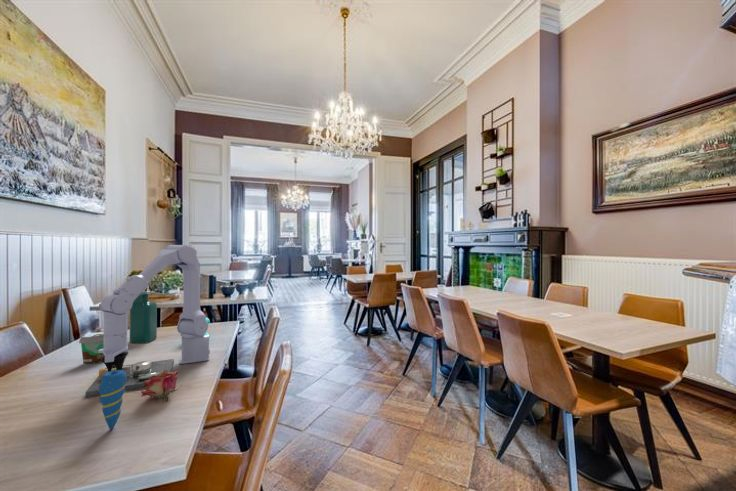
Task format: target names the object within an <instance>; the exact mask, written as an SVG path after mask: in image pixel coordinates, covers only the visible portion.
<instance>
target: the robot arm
mask: <svg viewBox="0 0 736 491" xmlns="http://www.w3.org/2000/svg"><path fill="white" fill-rule="evenodd" d="M197 253H198V251H197V249H195V247H193V246H191V245H189V244H168V245H166V246H164V247H163V249H161V250H159V252H158V255H156V256H155V258H154V259H153V260H151V262H150V263H149V264H148V265H147V266H146V267H145V268H143V270H142V271H141V272H139V274H133V275H131V276H127V277H126V278H125V281H124V282H123V283H122V284H121V285H120V286H118V288H115V289H114V290H113V292H112V293H110V294H107V295H105V296H103V298H102V300H101V301H100V303H99V304H98V307H99V309H100V311H101V312H103V333H104V349H100V350H99V351H98V353H103V354H104V355H105V357H103V358H102V361H103V362H102V363H103V364H104V365H105V366H106V367H105V368H107V369H108V372H110V371H111V369H112V368H115V367H116V370H122V367H123V365H124V363H125V361H126V358H127V356H128V354H129V351H127V350H128V349H129V346H128V325H129V324H128V321H129V320H128V318H129V317H128V316H129V315H128V314H129V312H130V309H131V308H132V305H133V301H134V300H135V299H136V298H137V297H138V296H139V295H140V294H141V293H142V292H145V290H146V289H147V288H148V287H149V281H151V279H153V278H154V277H155V276H156V275H158V274H159V273H160V272H162V270H163V269H165V268H166V267H167V266H170V265H171V266H172V265H176V266H178V268H180V269H181V270H182V272H183V273H182V276H183V277H182V278H183V279H182V280H183V282H182V283H183V285H182V287H183V289H182V290H183V311H182V312H181V313H180V315H179V316H178V317H179V319H178V323H177V325H176V329H177V331H178V333H180V337H181V356H180V360H179V365H184V364H185V365H186V364H191V363H198V362H199V363H200V362H206V361H209V360H210V359H209V358H210V352H211V349H210V337H209V336H210V334H209V335H205V333H207V331H208V329H209V324H208V323H207V321H206V318H207V316H206V314H205V313H204V312H203V311H202V310H201V272H200V271H201V270H200V262H199V259H198V256H197ZM112 366H113V367H112Z"/></svg>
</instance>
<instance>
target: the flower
mask: <svg viewBox="0 0 736 491" xmlns="http://www.w3.org/2000/svg"><path fill="white" fill-rule="evenodd" d="M178 374H179V370H176V371H171V373H168V371H167V370H165V371H163V372H162V373H160V374H158V375H154V376H152V377H151V378H150V380H146V381H144V383H143V385H144V386H145V387H146V388H145V390H141V391H140V393H141V395H140V397H146V396H149V397H150V398H151V399H154V400H156V399H157V400H158V399H160V398H162V397H163V399H164V401H165V402H168V401H169V399H168V397H169V396H170V394H174V393H175V392H176V391H178V388H176V387H177V380H178ZM181 386H183V384H181V385H180V387H181Z"/></svg>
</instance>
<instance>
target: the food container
mask: <svg viewBox="0 0 736 491" xmlns="http://www.w3.org/2000/svg"><path fill="white" fill-rule="evenodd" d="M78 343H79V344H80V345H81V354H82V364H83V365H89V364H90V365H91V364H92V365H93V364H98V363H103V361H102V358H103V357H105V355H104V354H103V353H98V351H99V350H100V349H104V332H102V333H98V334H94V335H92V336H81V337H80V338H79V342H78Z"/></svg>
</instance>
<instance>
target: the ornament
mask: <svg viewBox="0 0 736 491" xmlns="http://www.w3.org/2000/svg"><path fill="white" fill-rule="evenodd" d="M112 367H113V366H112ZM126 379H127V376H126V373H125V372H124V371H122V370H116V367H115V368H112V369H111V371H110V372H107V373H105V374H103V375H102V377H101V385H100V386H99V388H98V390H99V393H100V394H101V395H100V396H99V397H100V398H99V402H100V404H101V405H102V408H101V409H102V410H101V411H102V415H103V417H104V419H105V422H106V424H107V426H108V429H109V430H114V428H115V426H116V424H117V422H118V420H119V417H120V415H121V410H122V409H121V408H122V404H123V401H124V399H123V395H124V393H125V392H126V391H125V385H124V384H125V382H126Z"/></svg>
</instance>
